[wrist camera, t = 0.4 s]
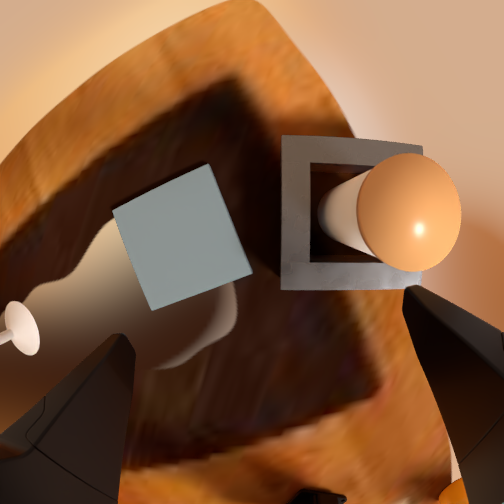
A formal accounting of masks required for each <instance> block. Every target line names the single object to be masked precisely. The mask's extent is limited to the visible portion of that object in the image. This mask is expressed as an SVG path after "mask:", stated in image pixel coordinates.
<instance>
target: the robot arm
mask: <svg viewBox="0 0 504 504" xmlns="http://www.w3.org/2000/svg"><path fill="white" fill-rule="evenodd" d="M402 311H403V316H404V318H405V321H406V324H407V327H408V330H409V333H410V336H411V339H412V342H413V345H414V348H415V351H416V354H417V357H418V359H419V362H420V364H421V366H422V368H423V371H424V373H425V375H426V378H427V380H428V383H429V385H430V387H431V390H432V392H433V395H434V397H435V400H436V402H437V405H438V408H439V410H440V413H441V415H442V418H443V421H444V424H445V426H446V429H447V432H448V435H449V438H450V441H451V444H452V446H453V449H454V452H455V456H456V459H457V462H458V464H459V465H458V466H459V469H460V472H461V476H462V480H463V483H464V487H465V490H466V494H467V498H468V502H469V504H502V503H504V332H502V333H501V331H500V330H499V329H497V328H495V327H493V326H492V325H490V324H488V323H487V322H485V321H483V320H481V319H480V318H478V317H476V316H474V315H472V314H471V313H469V312H467V311H466V310H464V309H462V308H460V307H458V306H457V305H455V304H453V303H451V302H449V301H448V300H446V299H444V298H442V297H440V296H438V295H437V294H435V293H433V292H431V291H429V290H427V289H425V288H423V287H422V286H420V285H417V284H416V285H411V286H407V287H406V288H405V290H404V298H403V306H402ZM135 359H136V354H135V350H134V348H133V347H132V345H131V343H130V342H129V340H128V338H127V337H126V335H125V334H123V333H116V334H112V335H111V336H110V337H109V338H107V340H105V341H104V342H103V343H102V344H101V345H100V346H99V347H97V348H96V349H95V350H94V351H93V352H92V353H91V354H90V355H89V356H87V357H86V358H85V359H84V360H83V361H82V362H81V363H80V364H79V365H78V366H76V367H75V368H74V369H73V370H72V371H71V372H70V373H69V374H68V375H67V376H66V377H64V378H63V379H62V380H61V381H60V382H59V383H58V384H57V385H56V386H55V387H54V388H53V389H52V390H50V391H49V392H48V393H47V394H46V396H44V397H43V398H42V399H41V400H40V401H39V402H38V403H37V404H35V405H34V406H33V407H32V408H31V409H30V410H29V411H28V412H27V413H25V414H24V415H23V416H22V417H21V418H20V419H18V420H17V421H16V422H15V423H13V424H12V425H11V426H10V427H8V428H7V429H6V430H5V431H4V432H2V434H0V504H118V501H117V500H118V493H119V483H120V474H121V466H122V458H123V450H124V443H125V437H126V430H127V424H128V418H129V412H130V406H131V400H132V393H133V382H134V370H135ZM346 501H347V497H345V496H339V495H333V494H327V493H321V492H316V491H311V490H306V489H303V490H300V491H299V492H298V493H297V494H296V495H295V496H294V497H293V498H292V499H291V500H290V501H289V502H288V503H287V504H344V503H345V502H346Z"/></svg>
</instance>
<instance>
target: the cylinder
mask: <svg viewBox="0 0 504 504" xmlns="http://www.w3.org/2000/svg"><path fill="white" fill-rule="evenodd" d="M439 502H440V504H469V502H468V498H467V494H466V490H465V487H464V483H463V480H462V478H460V479H458V480H456V481H454V482H453V483H451V484H450V485H449V486H447V487H446V488H445V489H444V490H443V491H442V492H441V494H440V495H439ZM502 504H504V503H502Z"/></svg>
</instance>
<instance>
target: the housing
mask: <svg viewBox="0 0 504 504" xmlns="http://www.w3.org/2000/svg"><path fill="white" fill-rule="evenodd" d="M280 150H281V237H280V285H281V290H376V289H405V288H406V287H407V286H411V285H416V284H417V285H420V286H421V279H422V271H417V272H409V271H403V270H399V269H397V268H394V267H392V266H390V265H387V264H385V263H384V262H382V261H381V260H379V259H378V258H377V257H375V256H362V255H310V172H332V173H352V174H363V173H365V172H367V171H369V170H371V169H372V168H374V167H375V166H376V165H377V164H379V163H380V162H382V161H384V160H386V159H388V158H390V157H392V156H394V155H398V154H402V153H415V154H419V155H423V149H422V146H419V145H412V144H405V143H397V142H387V141H378V140H369V139H357V138H344V137H327V136H303V135H281V148H280Z"/></svg>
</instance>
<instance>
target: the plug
mask: <svg viewBox="0 0 504 504" xmlns="http://www.w3.org/2000/svg"><path fill="white" fill-rule="evenodd" d="M317 218H318V222H319V225H320V227H321V229H322V230H323V232H324V233H325V234H326V235H327V236H328V237H329V238H331V239H333V240H335V241H338V242H340V243H343V244H345V245H348V246H350V247H353V248H355V249H357V250H360V251H362V252H365V253H367V254H370V255H372V256H375V257H377V258H378V259H379V260H381V261H382V262H384V263H385V264H387V265H390V266H392V267H394V268H397V269H399V270H403V271H409V272H417V271H423V270H426V269H429V268H431V267H433V266H435V265H437V264H438V263H439V262H441V261H442V260H443V259H444V258H445V257H446V256H447V254H448V253H449V252H450V251H451V249H452V247H453V246H454V244H455V241H456V239H457V236H458V233H459V229H460V224H461V206H460V200H459V196H458V193H457V190H456V187H455V185H454V183H453V181H452V180H451V178H450V177H449V175H448V174H447V173H446V172H445V170H444V169H443V168H442V167H441V166H440V165H439V164H437V163H436V162H435V161H433V160H432V159H430V158H428V157H425V156H423V155H419V154H415V153H402V154H398V155H394V156H392V157H390V158H388V159H386V160H384V161H382V162H380V163H379V164H377V165H376V166H375V167H374V168H372V169H371V170H369V171H367V172H365V173H363V174H361V175H359V176H357V177H354V178H352V179H350V180H348V181H346V182H344V183H342V184H340V185H338V186H336V187H334V188H332V189H330V190H329V191H328V192H326V193H325V194H324V195H323V197H322V198H321V200H320V202H319V205H318V209H317Z"/></svg>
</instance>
